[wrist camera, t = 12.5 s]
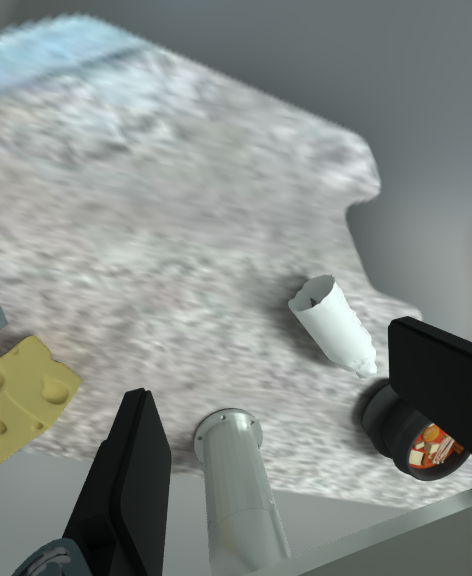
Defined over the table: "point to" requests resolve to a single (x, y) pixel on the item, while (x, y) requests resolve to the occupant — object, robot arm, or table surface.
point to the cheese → (31, 393)
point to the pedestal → (2, 319)
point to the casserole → (410, 437)
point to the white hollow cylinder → (335, 326)
